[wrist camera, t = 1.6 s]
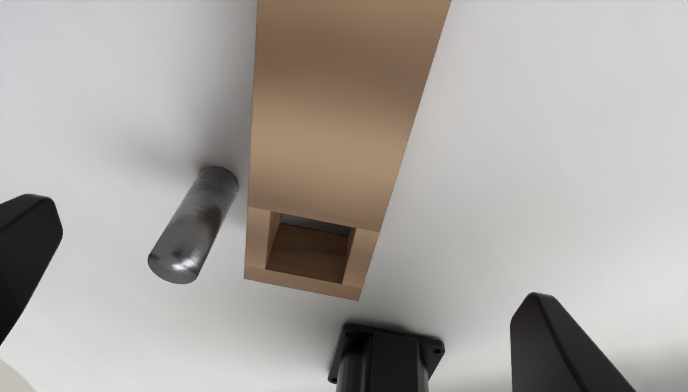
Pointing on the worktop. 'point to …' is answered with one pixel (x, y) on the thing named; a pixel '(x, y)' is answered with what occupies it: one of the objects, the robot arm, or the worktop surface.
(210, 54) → the worktop surface
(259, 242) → the link
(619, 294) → the worktop surface
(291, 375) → the worktop surface
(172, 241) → the cylinder
